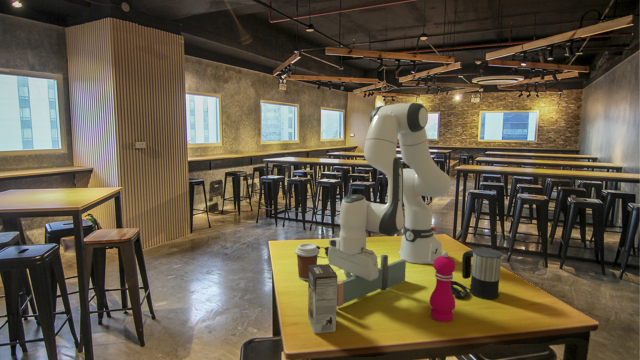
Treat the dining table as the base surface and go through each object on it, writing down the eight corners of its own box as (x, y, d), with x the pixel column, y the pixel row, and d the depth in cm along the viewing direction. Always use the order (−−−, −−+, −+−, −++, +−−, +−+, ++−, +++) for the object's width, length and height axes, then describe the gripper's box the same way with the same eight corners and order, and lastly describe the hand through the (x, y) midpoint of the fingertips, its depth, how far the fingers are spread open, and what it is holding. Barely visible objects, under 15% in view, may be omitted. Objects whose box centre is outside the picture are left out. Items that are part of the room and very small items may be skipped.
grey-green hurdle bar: (378, 286, 124) (379, 266, 123) (382, 288, 123) (383, 268, 122) (334, 304, 111) (334, 282, 110) (338, 306, 109) (338, 284, 108)
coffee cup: (316, 271, 140) (316, 241, 138) (321, 280, 131) (322, 249, 129) (293, 273, 138) (293, 243, 136) (296, 282, 129) (297, 250, 127)
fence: (400, 279, 133) (402, 248, 132) (406, 281, 131) (407, 249, 130) (326, 310, 109) (326, 272, 107) (331, 313, 107) (331, 275, 106)
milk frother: (503, 294, 122) (507, 252, 120) (484, 309, 111) (488, 263, 109) (462, 281, 132) (465, 242, 130) (442, 294, 121) (444, 252, 119)
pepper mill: (430, 309, 111) (433, 246, 108) (454, 313, 108) (459, 249, 105) (427, 319, 104) (431, 253, 101) (453, 325, 101) (458, 257, 99)
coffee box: (307, 317, 105) (307, 264, 103) (328, 315, 106) (329, 263, 104) (313, 334, 96) (314, 276, 94) (336, 331, 97) (338, 274, 95)
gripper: (383, 250, 112) (382, 292, 113) (338, 235, 127) (337, 273, 129) (370, 254, 108) (368, 298, 109) (325, 239, 123) (324, 277, 125)
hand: (351, 284), depth 119 cm, fingers closed
